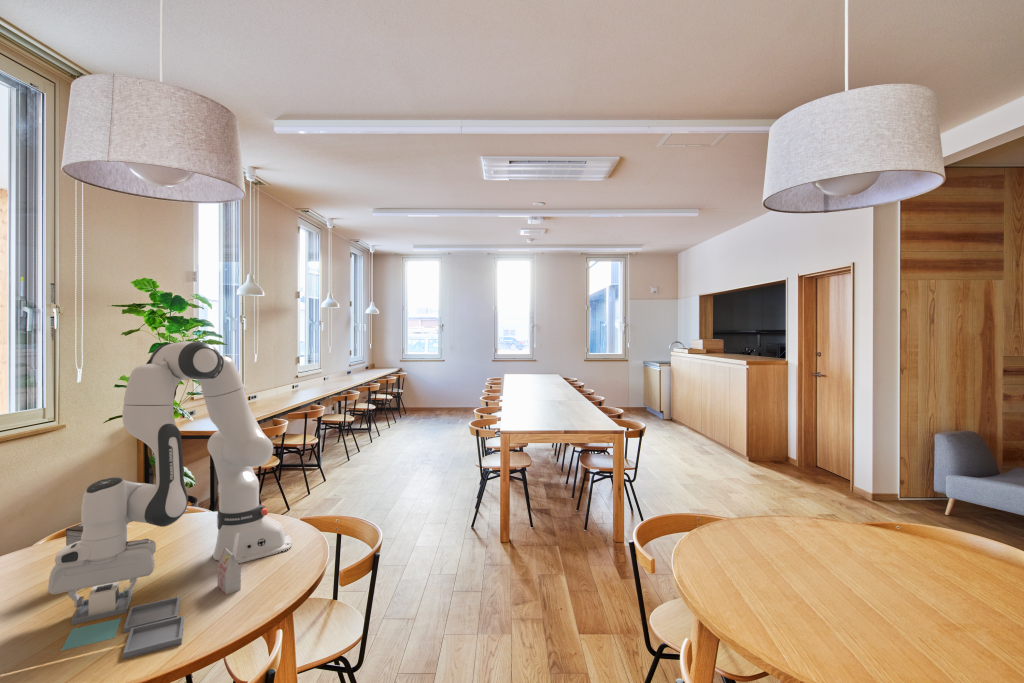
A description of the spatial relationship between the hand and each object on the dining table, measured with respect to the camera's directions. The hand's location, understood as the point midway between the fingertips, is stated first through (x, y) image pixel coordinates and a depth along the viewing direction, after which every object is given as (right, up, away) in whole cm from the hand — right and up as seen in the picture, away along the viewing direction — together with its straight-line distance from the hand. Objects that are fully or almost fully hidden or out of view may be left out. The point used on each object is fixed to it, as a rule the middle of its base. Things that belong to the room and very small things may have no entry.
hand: (104, 600), depth 120 cm
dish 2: (+15, -2, -3) cm, 15 cm away
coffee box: (-16, -2, +15) cm, 22 cm away
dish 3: (+22, -3, -12) cm, 25 cm away
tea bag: (+25, -3, +11) cm, 27 cm away
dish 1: (0, -2, 0) cm, 2 cm away
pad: (+6, -2, -10) cm, 12 cm away
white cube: (0, -2, 0) cm, 2 cm away
